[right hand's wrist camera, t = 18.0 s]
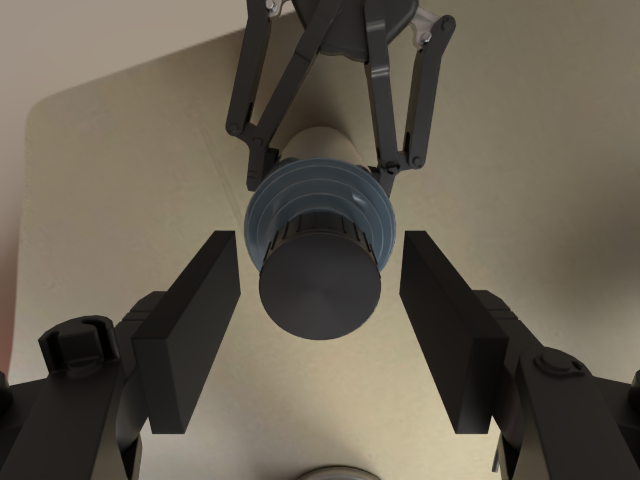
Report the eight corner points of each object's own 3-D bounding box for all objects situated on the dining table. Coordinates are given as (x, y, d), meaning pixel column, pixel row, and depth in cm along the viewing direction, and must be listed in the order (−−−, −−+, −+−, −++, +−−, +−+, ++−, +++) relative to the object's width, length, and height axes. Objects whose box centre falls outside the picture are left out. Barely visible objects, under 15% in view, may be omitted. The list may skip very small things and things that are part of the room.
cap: (318, 324, 15) (317, 361, 13) (244, 259, 14) (231, 288, 12) (394, 262, 14) (408, 291, 12) (321, 187, 13) (322, 204, 11)
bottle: (275, 132, 33) (193, 197, 12) (353, 120, 33) (418, 165, 11) (288, 207, 35) (241, 374, 14) (361, 197, 35) (426, 353, 14)
